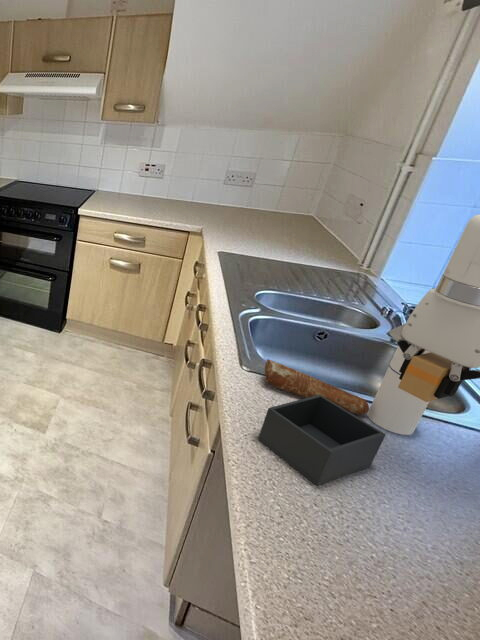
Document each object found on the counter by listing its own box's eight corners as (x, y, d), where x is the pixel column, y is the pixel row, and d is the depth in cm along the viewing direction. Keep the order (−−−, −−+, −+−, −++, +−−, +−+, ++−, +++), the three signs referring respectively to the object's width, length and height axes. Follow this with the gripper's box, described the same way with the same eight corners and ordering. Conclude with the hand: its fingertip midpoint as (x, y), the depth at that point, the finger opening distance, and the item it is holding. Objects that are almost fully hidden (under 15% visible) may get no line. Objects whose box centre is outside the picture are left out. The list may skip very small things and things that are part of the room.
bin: (307, 424, 87) (319, 394, 84) (370, 466, 77) (386, 434, 74) (257, 439, 82) (268, 407, 80) (316, 486, 72) (331, 452, 70)
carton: (415, 382, 74) (430, 352, 72) (445, 397, 71) (462, 365, 68) (397, 387, 73) (412, 356, 71) (426, 402, 69) (443, 370, 67)
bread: (262, 374, 103) (268, 355, 101) (364, 410, 91) (373, 389, 89) (258, 386, 98) (264, 366, 96) (365, 425, 87) (375, 404, 85)
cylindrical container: (368, 405, 92) (413, 306, 84) (413, 422, 88) (466, 319, 79) (366, 421, 88) (413, 318, 79) (413, 440, 83) (469, 332, 74)
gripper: (569, 314, 59) (506, 416, 65) (419, 270, 73) (380, 356, 80) (540, 321, 56) (477, 426, 63) (392, 274, 71) (353, 362, 78)
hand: (423, 386), depth 71 cm, fingers closed on carton, 4 cm apart
